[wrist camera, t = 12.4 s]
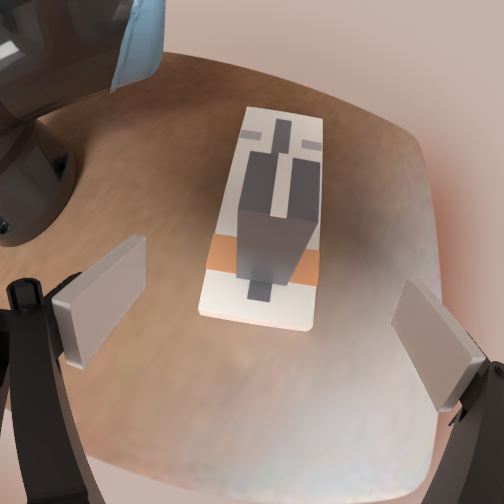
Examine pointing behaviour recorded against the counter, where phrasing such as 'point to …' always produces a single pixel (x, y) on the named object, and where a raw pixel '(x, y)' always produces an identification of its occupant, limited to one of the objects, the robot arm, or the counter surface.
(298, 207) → the slider tab
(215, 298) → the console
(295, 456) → the counter surface
